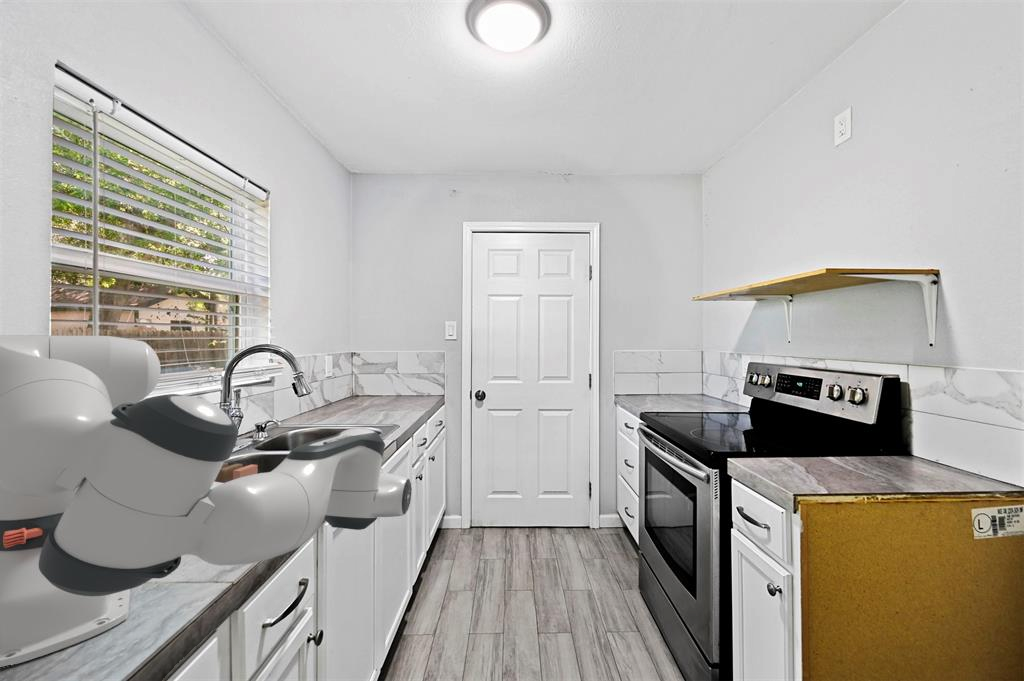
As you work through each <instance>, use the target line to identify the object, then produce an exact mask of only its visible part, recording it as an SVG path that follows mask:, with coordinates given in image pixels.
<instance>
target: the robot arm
mask: <svg viewBox="0 0 1024 681" xmlns="http://www.w3.org/2000/svg"><path fill="white" fill-rule="evenodd" d="M161 367H162V366H161V362H160V358H159V357H158V354H157V352H156V351H155V350H154V349H153V348H152V346H150V345H149V344H148V343H147V342H145V341H143V340H137V339H131V338H126V337H121V336H120V337H119V336H111V335H64V334H63V335H57V334H56V335H53V334H52V335H42V334H41V335H36V334H35V335H29V334H27V335H23V334H19V335H18V334H16V335H15V334H12V335H11V334H8V335H7V334H2V335H1V334H0V666H1V667H2V666H6V665H11V666H15V665H17V664H20V663H21V664H22V663H25V662H27V661H31V660H33V659H36V658H39V657H43V656H45V655H48V654H51V653H54V652H57V651H59V650H62V649H65V648H68V647H70V646H72V645H76V644H78V643H80V642H83V641H85V640H88V639H90V638H93V637H95V636H97V635H99V634H101V633H104V632H106V631H108V630H110V629H112V628H113V627H115V626H117V625H119V624H121V623H122V622H124V621H125V620H127V619H128V618H129V615H130V606H131V605H130V604H131V592H132V589H134V588H138V587H140V586H142V585H144V584H145V583H147V582H149V581H151V580H152V579H163V578H165V577H168V576H169V575H170V574H172V573H173V572H174V571H176V570H177V569H178V568H179V566H180V564H181V562H182V556H185V555H187V556H189V555H192V556H195V557H197V558H199V559H200V560H201V561H203V562H205V563H208V564H211V565H213V566H240V565H248V564H254V563H259V562H262V561H263V562H264V561H267V560H270V559H273V558H277V557H279V556H282V555H284V554H287V553H290V552H292V551H294V550H297V549H298V548H300V547H301V546H303V545H304V544H305V543H307V542H308V541H309V540H310V539H311V538H312V537H313V536H314V535H315V534H316V532H318V531H319V530H320V527H321V526H322V524H323V523H324V522H327V524H328V525H330V527H332V528H334V529H335V528H338V529H346V530H347V529H348V530H355V531H362V530H364V529H367V528H368V527H369V526H370V525H371V524H373V523H375V521H376V520H378V518H393V517H403V516H405V515H406V514H407V512H408V511H409V508H410V504H411V500H412V482H411V481H410V478H409V477H407V476H403V475H398V474H393V473H388V472H381V469H382V461H383V458H384V452H385V447H386V443H385V441H384V439H382V438H383V437H381V435H380V434H379V433H378V432H377V431H374V430H372V429H369V428H361V427H354V428H349V429H345V430H341V431H340V432H338V433H337V434H334V435H330V436H326V437H323V438H320V439H317V440H313V441H310V442H307V443H304V444H302V445H299V446H296V447H294V448H293V449H291V450H290V451H289V453H288V454H287V455H286V458H284V459H283V461H281V462H280V464H278V465H277V466H276V467H274V469H272V470H271V471H267V472H260V473H258V474H253V475H249V476H245V477H241V478H237V479H234V480H231V481H228V482H226V483H220V482H214V481H215V479H216V477H217V475H218V473H219V471H220V469H221V467H222V465H223V463H225V461H228V460H229V459H230V458H231V456H232V454H233V451H234V448H235V446H236V444H237V440H238V436H239V432H240V431H239V429H238V426H237V424H236V422H235V420H234V419H233V418H232V417H231V416H230V415H228V414H227V413H226V412H225V411H224V410H223V409H222V408H220V407H219V406H217V405H216V404H215V403H213V402H210V401H209V400H206V399H203V398H201V397H200V398H199V397H196V396H189V395H183V394H177V393H169V394H162V395H155V396H151V397H148V396H149V395H150V394H151V393H152V392H154V391H153V390H154V389H156V386H157V385H158V383H159V381H160V377H161V369H162V368H161ZM324 520H325V521H324ZM14 664H15V665H14Z"/></svg>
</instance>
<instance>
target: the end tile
mask: <svg viewBox="0 0 1024 681" xmlns="http://www.w3.org/2000/svg"><path fill="white" fill-rule="evenodd" d="M253 474H259V473H258V464H249V465H245V466H243V467H242V468H239V469H236V470H233V480H234V479H237V478H241V477H245V476H249V475H253Z"/></svg>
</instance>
